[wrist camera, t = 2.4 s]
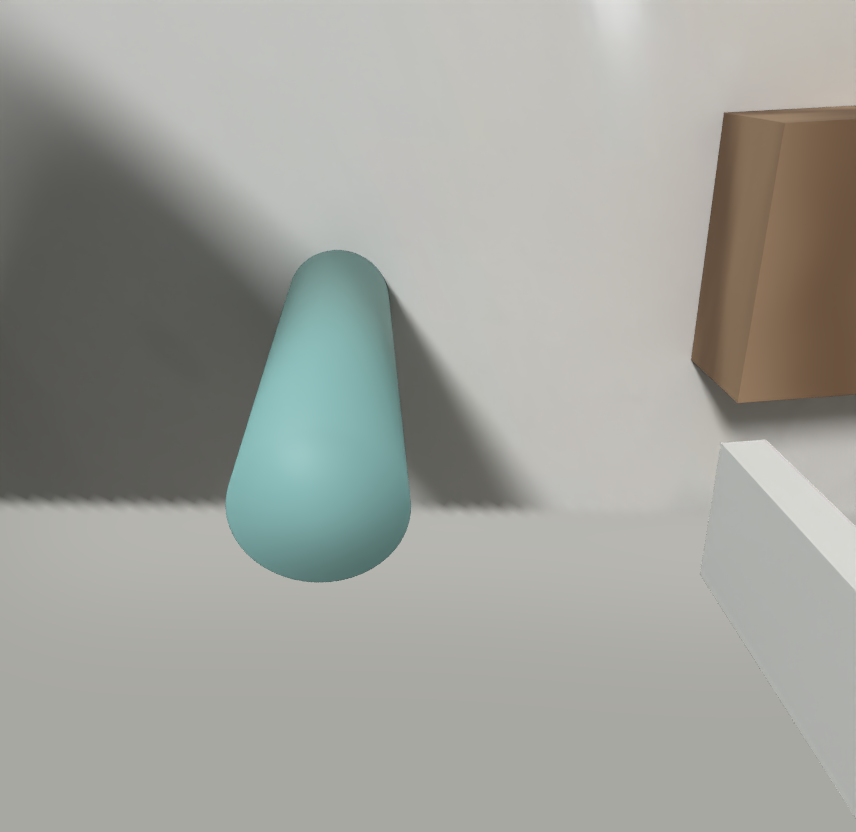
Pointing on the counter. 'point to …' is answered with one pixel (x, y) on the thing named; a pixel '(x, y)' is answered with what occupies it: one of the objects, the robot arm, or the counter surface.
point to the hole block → (781, 257)
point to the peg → (325, 431)
